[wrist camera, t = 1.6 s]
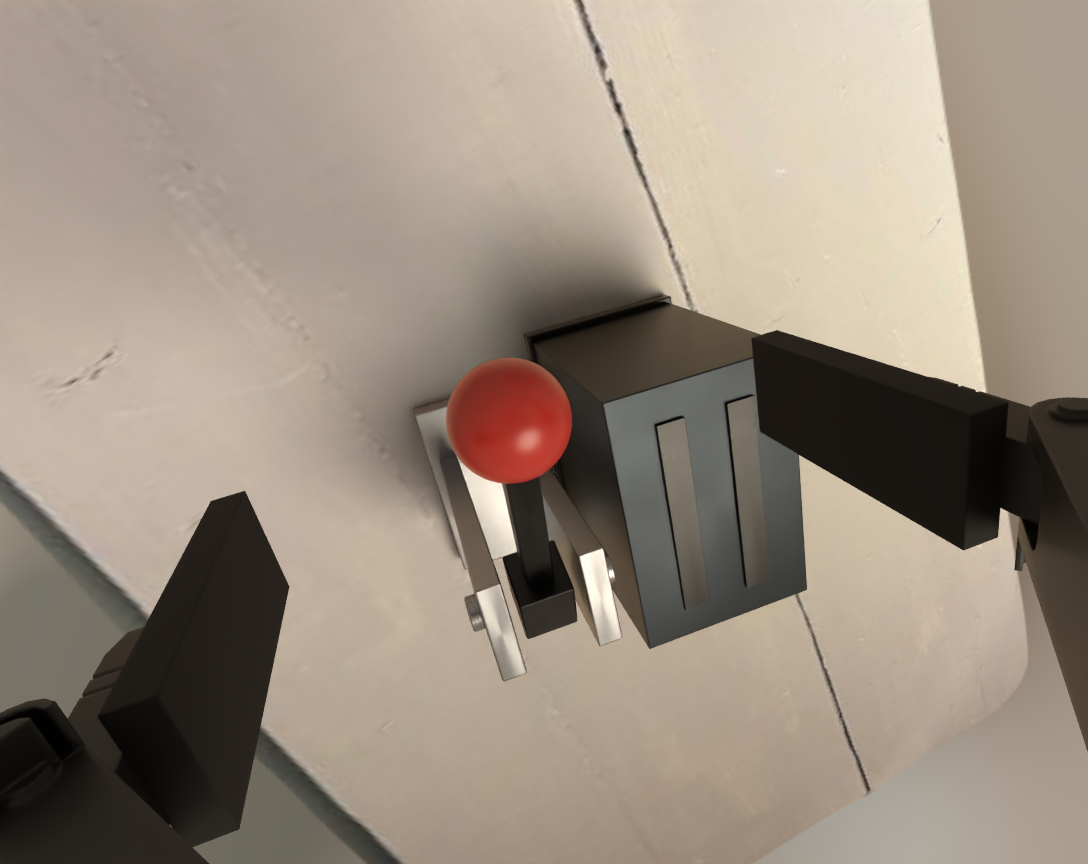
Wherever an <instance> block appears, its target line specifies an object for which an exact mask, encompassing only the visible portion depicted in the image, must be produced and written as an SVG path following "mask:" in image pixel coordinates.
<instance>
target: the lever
mask: <svg viewBox="0 0 1088 864" xmlns="http://www.w3.org/2000/svg"><path fill="white" fill-rule="evenodd" d="M446 429H447V434H448V439H449V442H450V444H451V446H452V449H453V451H454V452H455V454H456V455H457V457H458V458H459V460H460V461H461V462H462V463H463V464H464V465H465V466H466V467H467V468H468V469H469V470H471V471H472V472H473V473H475V474H476V475H478V476H480V477H482V478H484V479H486V480H489V481H493V482H497V483H502V486H503V490H504V495H505V499H506V504H507V508H508V513H509V517H510V522H511V526H512V531H513V535H514V540H515V544H516V549H517V552H516V553H513V554H510V555H507V556H504V557H503V562H504V566H505V570H506V574H507V578H508V581H509V585H510V589H511V593H512V596H513V599H514V602H515V605H516V608H517V611H518V614H519V617H520V620H521V623H522V626H523V629H524V632H525V635H526V637H527V639H530V638H533V637H536V636H539V635H541V634H544V633H547V632H550V631H552V630H555V629H558V628H561V627H563V626H566V625H569V624H572V623H575V622H577V612H576V602H575V592H574V587H573V584H572V582H571V580H570V577H569V575H568V572H567V570H566V567H565V565H564V563H563V560H562V558H561V555H560V553H559V551H558V548H557V546H556V543H555V541H554V540H551V541H549V537H548V530H547V523H546V517H545V510H544V503H543V496H542V489H541V483H540V475H542V474H544V473H545V472H546V471H548V470H549V469H550V468H551V467H552V466H553V465H554V464H555V463H556V462H557V461H558V460H559V459H560V457H561V456H562V454H563V452H564V451H565V449H566V447H567V444H568V441H569V439H570V435H571V429H572V412H571V407H570V403H569V400H568V397H567V395H566V392H565V391H564V389H563V387H562V386H561V384H560V383H559V382H558V380H557V379H556V378H555V377H554V376H553V375H552V374H551V373H550V372H548V371H547V370H546V369H544V368H543V367H541V366H540V365H538V364H536V363H533V362H531V361H528V360H524V359H519V358H498V359H494V360H490V361H487V362H485V363H482V364H480V365H478V366H477V367H475V368H473V369H472V370H471V371H469V372H468V373H467V374H466V375H465V376H464V377H463V378H462V379H461V380H460V381H459V383H458V384H457V386H456V387H455V389H454V390H453V392H452V394H451V397H450V400H449V403H448V406H447V412H446Z"/></svg>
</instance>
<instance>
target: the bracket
mask: <svg viewBox="0 0 1088 864" xmlns="http://www.w3.org/2000/svg"><path fill="white" fill-rule="evenodd" d="M449 400H450V398H449V399H446V400H443V401H439V402H436V403H432V404H429V405H426V406H422V407H419V408H415V409H414V415H415V418H416V422H417V425H418V428H419V431H420V434H421V437H422V440H423V443H424V446H425V449H426V452H427V456H428V459H429V462H430V465H431V468H432V471H433V474H434V477H435V480H436V483H437V486H438V490H439V493H440V496H441V499H442V502H443V505H444V508H445V511H446V514H447V517H448V520H449V524H450V527H451V530H452V533H453V536H454V539H455V542H456V545H457V548H458V551H459V554H460V558H461V561H462V564H463V567H464V569H468V571H469V575H470V579H471V582H472V586H473V590H474V594H473V595H470V596H467V597H465V598H464V600H465V604H466V608H467V611H468V615H469V618H470V621H471V624H472V627H473V630H474V631H475V632H476V631H479V630H482V629H485V628H486V631H487V634H488V637H489V640H490V643H491V646H492V650H493V653H494V656H495V659H496V662H497V665H498V668H499V671H500V674H501V677H502V680H503V681H507V680H510V679H512V678H515V677H518V676H521V675H523V674H526V673H527V670H526V666H525V663H524V660H523V656H522V653H521V650H520V646H519V643H518V640H517V636H516V633H515V630H514V626H513V623H512V620H511V616H510V613H509V610H508V606H507V603H506V599H505V596H504V593H503V589H502V586H501V583H500V580H499V577H498V574H497V571H496V568H495V565H494V562H493V560H495V559H498V558H501V557H504V556H507V555H510V554H513V553H516V552H517V549H516V544H515V540H514V535H513V531H512V526H511V522H510V517H509V513H508V508H507V504H506V499H505V495H504V490H503V486H502V483H497V482H493V481H489V480H486V479H484V478H482V477H480V476H478V475H476V474H475V473H473V472H472V471H471V470H469V469H468V468H467V467H466V466H465V465H464V464H463V463H462V462H461V461H460V460H459V458H458V457H457V455H456V454H455V452H454V451H453V449H452V446H451V444H450V442H449V439H448V434H447V429H446V412H447V406H448V403H449ZM540 483H541V489H542V496H543V503H544V510H545V517H546V523H547V530H548V537H549V541H551V540H554V541H555V543H556V546H557V548H558V551H559V553H560V555H561V558H562V560H563V563H564V565H565V567H566V570H567V572H568V575H569V577H570V580H571V582H572V584H573V587H574V592H575V600H576V602H577V604H578V606H579V607H580V609H581V611H582V613H583V615H584V617H585V619H586V621H587V623H588V625H589V627H590V629H591V631H592V633H593V635H594V637H595V639H596V640H597V642H598V644H599V646H602V645H605V644H608V643H611V642H613V641H616V640H619V639H621V638H622V633H621V628H620V624H619V619H618V614H617V609H616V605H615V600H614V595H613V591H612V586H611V584H612V583H614V582H615V581H616V577H615V572H614V568H613V565H612V563H611V560H610V558H609V556H608V554H607V553H606V551H605V550H604V548H603V547H602V545H601V544H600V542H599V541H598V539H597V538H596V536H595V535H594V533H593V532H592V530H591V529H590V527H589V526H588V524H587V523H586V521H585V520H584V518H583V517H582V515H581V514H580V512H579V511H578V509H577V508H576V506H575V505H574V503H573V502H572V501H571V499H570V498H569V496H568V495H567V493H566V492H565V490H564V489H563V487H562V486H561V484H560V483H559V481H558V480H557V478H556V477H555V475H554V474H553V472H552V471H551V469H549V470H548V471H546V472H545V473H544V474H542V475H540Z"/></svg>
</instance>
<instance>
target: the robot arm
mask: <svg viewBox="0 0 1088 864" xmlns="http://www.w3.org/2000/svg"><path fill="white" fill-rule="evenodd" d="M751 340H752V351H753V363H754V374H755V385H756V396H757V407H758V418H759V429H760V432H761V433H763V434H764V435H766V436H768V437H770V438H771V439H773V440H775V441H776V442H778V443H780V444H782V445H783V446H785V447H787V448H788V449H790V450H792V451H794V452H795V453H797V454H799V455H800V456H802V457H804V458H806V459H807V460H809V461H811V462H813V463H814V464H816V465H818V466H819V467H821V468H823V469H825V470H826V471H828V472H830V473H831V474H833V475H835V476H837V477H838V478H840V479H842V480H843V481H845V482H847V483H849V484H850V485H852V486H854V487H855V488H857V489H859V490H861V491H862V492H864V493H866V494H867V495H869V496H871V497H873V498H874V499H876V500H878V501H880V502H881V503H883V504H885V505H886V506H888V507H890V508H892V509H893V510H895V511H897V512H898V513H900V514H902V515H904V516H905V517H907V518H909V519H910V520H912V521H914V522H916V523H917V524H919V525H921V526H922V527H924V528H926V529H928V530H929V531H931V532H933V533H934V534H936V535H938V536H940V537H941V538H943V539H945V540H946V541H948V542H950V543H952V544H953V545H955V546H957V547H959V548H960V549H962V550H966V549H968V548H971V547H974V546H976V545H979V544H981V543H984V542H987V541H989V540H992V539H994V538H997V537H998V529H999V517H1000V508H1002V509H1004V510H1006V511H1008V512H1010V513H1013V514H1015V515H1017V516H1019V529H1018V538H1017V549H1016V560H1015V570H1019V571H1022V568H1023V563H1025V562H1026V563H1027V566H1028V569H1029V572H1030V575H1031V578H1032V582H1033V585H1034V587H1035V591H1036V594H1037V597H1038V600H1039V603H1040V606H1041V609H1042V612H1043V615H1044V618H1045V622H1046V624H1047V627H1048V631H1049V634H1050V637H1051V640H1052V643H1053V646H1054V649H1055V652H1056V655H1057V659H1058V662H1059V665H1060V668H1061V671H1062V674H1063V677H1064V680H1065V683H1066V686H1067V689H1068V693H1069V696H1070V698H1071V702H1072V705H1073V708H1074V711H1075V714H1076V717H1077V720H1078V723H1079V726H1080V729H1081V733H1082V736H1083V739H1084V742H1085V744H1086V748H1087V751H1088V399H1087V398H1057V399H1049V400H1045V401H1041V402H1038V403H1036V404H1035V405H1033V406H1032V407H1029V406H1026V405H1023V404H1019V403H1016V402H1013V401H1010V400H1006V399H1003V398H1000V397H997V396H993V395H990V394H987V393H984V392H980V391H979V392H976V391H975V390H974V389H971V388H967V387H964V386H960V387H959V386H958V384H954V383H951V382H948V381H944V380H941V379H938V378H932V377H926V376H923V375H920V374H917V373H913V372H910V371H907V370H904V369H900V368H897V367H894V366H891V365H887V364H884V363H881V362H878V361H875V360H871V359H868V358H865V357H862V356H858V355H855V354H852V353H849V352H845V351H842V350H839V349H836V348H833V347H829V346H826V345H823V344H820V343H816V342H813V341H810V340H807V339H803V338H800V337H797V336H794V335H790V334H787V333H784V332H781V331H778V330H776V331H773V332H770V333H766V334H763V335H760V336H756V337H753V338H751ZM288 590H289V585H288V583H287V581H286V578H285V576H284V574H283V572H282V570H281V568H280V565H279V563H278V561H277V559H276V557H275V555H274V553H273V550H272V548H271V546H270V544H269V542H268V540H267V537H266V535H265V533H264V531H263V529H262V527H261V524H260V522H259V520H258V518H257V516H256V514H255V511H254V509H253V507H252V505H251V503H250V501H249V498H248V496H247V494H246V492H245V491H243V492H240V493H236V494H233V495H230V496H226V497H223V498H220V499H216V500H213V501H211V502H210V504H209V506H208V508H207V510H206V511H205V513H204V515H203V517H202V519H201V521H200V523H199V525H198V527H197V528H196V530H195V532H194V534H193V536H192V538H191V540H190V542H189V544H188V545H187V547H186V549H185V551H184V553H183V555H182V557H181V559H180V561H179V563H178V564H177V566H176V568H175V570H174V572H173V574H172V576H171V578H170V580H169V581H168V583H167V585H166V587H165V589H164V591H163V593H162V595H161V597H160V598H159V600H158V602H157V604H156V606H155V608H154V610H153V612H152V614H151V615H150V617H149V619H148V621H147V623H146V625H145V627H143V628H140V629H137V630H133V631H130V632H128V633H127V634H126V635H125V636H124V637H123V638H122V639H121V640H120V641H119V642H118V643H117V644H116V645H115V646H114V647H113V648H112V649H111V650H110V651H108V653H107V654H105V656H104V658H103V659H102V661H101V663H100V665H99V666H98V668H97V670H96V671H95V673H94V675H93V680H91V681H90V682H89V684H88V685H87V687H86V689H85V690H84V692H83V694H82V695H83V698H80V699H79V701H78V702H77V704H76V706H75V707H74V709H73V711H72V713H71V714H70V716H69V718H68V719H67V717H66V716H65V715H64V713H63V712H62V710H61V709H60V708H59V706H58V705H57V703H56V702H55V701H51V700H48V699H39V700H34V701H28V702H25V703H23V704H20V705H17V706H15V707H12V708H10V709H7V710H6V711H4V712H2V713H0V864H209V863H208V862H207V861H206V860H205V859H204V858H203V857H201V855H200V854H198V853H197V852H196V851H195V850H194V849H193V848H192V847H194V846H197V845H200V844H202V843H205V842H207V841H210V840H213V839H215V838H218V837H220V836H223V835H226V834H228V833H231V832H233V831H236V830H239V828H240V822H241V818H242V813H243V808H244V804H245V799H246V794H247V789H248V784H249V779H250V775H251V770H252V764H253V760H254V755H255V750H256V745H257V741H258V736H259V731H260V726H261V721H262V716H263V711H264V707H265V702H266V697H267V692H268V687H269V682H270V678H271V673H272V668H273V663H274V658H275V653H276V648H277V644H278V639H279V634H280V629H281V624H282V619H283V614H284V610H285V605H286V600H287V595H288ZM169 825H171V826H172V828H171V827H170V826H169Z"/></svg>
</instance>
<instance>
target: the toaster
mask: <svg viewBox="0 0 1088 864" xmlns="http://www.w3.org/2000/svg"><path fill="white" fill-rule="evenodd" d="M756 336H760V334H757V333H754V332H751V331H749V330H746V329H743V328H740V327H737V326H734V325H731V324H728V323H725V322H722V321H720V320H717V319H714V318H711V317H708V316H705V315H702V314H699V313H696V312H693V311H690V310H688V309H685V308H682V307H679V306H676V305H673V304H672V303H671V297H670V296H667V295H661V296H658V297H654V298H651V299H647V300H644V301H640V302H637V303H633V304H629V305H626V306H622V307H619V308H615V309H612V310H608V311H605V312H601V313H597V314H594V315H590V316H587V317H583V318H580V319H576V320H573V321H569V322H566V323H562V324H558V325H555V326H551V327H548V328H544V329H541V330H537V331H534V332H530V333H526V334H524V339H525V343H526V347H527V352H528V356H529V360H530V361H531V362H533V363H536V364H538V365H540V366H541V367H543V368H544V369H546V370H547V371H548V372H550V373H551V374H552V375H553V376H554V377H555V378H556V379H557V380H558V382H559V383H560V384H561V386H562V387H563V389H564V391H565V392H566V395H567V397H568V400H569V403H570V407H571V412H572V429H571V435H570V439H569V441H568V444H567V447H566V449H565V451H564V452H563V454H562V456H561V457H560V459H559V460H558V461H557V462H556V463H555V464H554V466H555V471H556V475H557V479H558V481H559V483H560V484H561V486H562V487H563V489H564V490H565V492H566V493H567V495H568V496H569V498H570V499H571V501H572V502H573V503H574V505H575V506H576V508H577V509H578V511H579V512H580V514H581V515H582V517H583V518H584V520H585V521H586V523H587V524H588V526H589V527H590V529H591V530H592V532H593V533H594V535H595V536H596V538H597V539H598V541H599V542H600V544H601V545H602V547H603V548H604V550H605V551H606V553H607V554H608V556H609V558H610V560H611V563H612V565H613V568H614V572H615V577H616V581H615V582H614V583H612V584H611V586H612V589H613V591H614V593H615V594H616V596H617V597H618V599H619V601H620V602H621V604H622V605H623V607H624V609H625V610H626V612H627V613H628V615H629V617H630V618H631V620H632V621H633V623H634V625H635V626H636V628H637V629H638V631H639V633H640V634H641V636H642V638H643V639H644V641H645V642H646V644H647V646H648V647H649V648H650V649H651V648H653V647H656V646H659V645H661V644H664V643H667V642H669V641H672V640H675V639H677V638H680V637H683V636H685V635H688V634H691V633H693V632H696V631H699V630H701V629H704V628H707V627H709V626H712V625H715V624H717V623H720V622H723V621H725V620H728V619H731V618H733V617H736V616H739V615H741V614H744V613H747V612H749V611H752V610H755V609H757V608H760V607H763V606H765V605H768V604H770V603H773V602H776V601H778V600H781V599H784V598H786V597H789V596H792V595H794V594H797V593H800V592H802V591H805V590H807V583H806V566H805V550H804V533H803V517H802V501H801V484H800V468H799V454H797V453H795V452H794V451H792V450H790V449H788V448H787V447H785V446H783V445H782V444H780V443H778V442H776V441H775V440H773V439H771V438H770V437H768V436H766V435H764V434H763V433H761V432H760V429H759V418H758V407H757V396H756V385H755V374H754V363H753V351H752V340H751V338H753V337H756Z"/></svg>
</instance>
